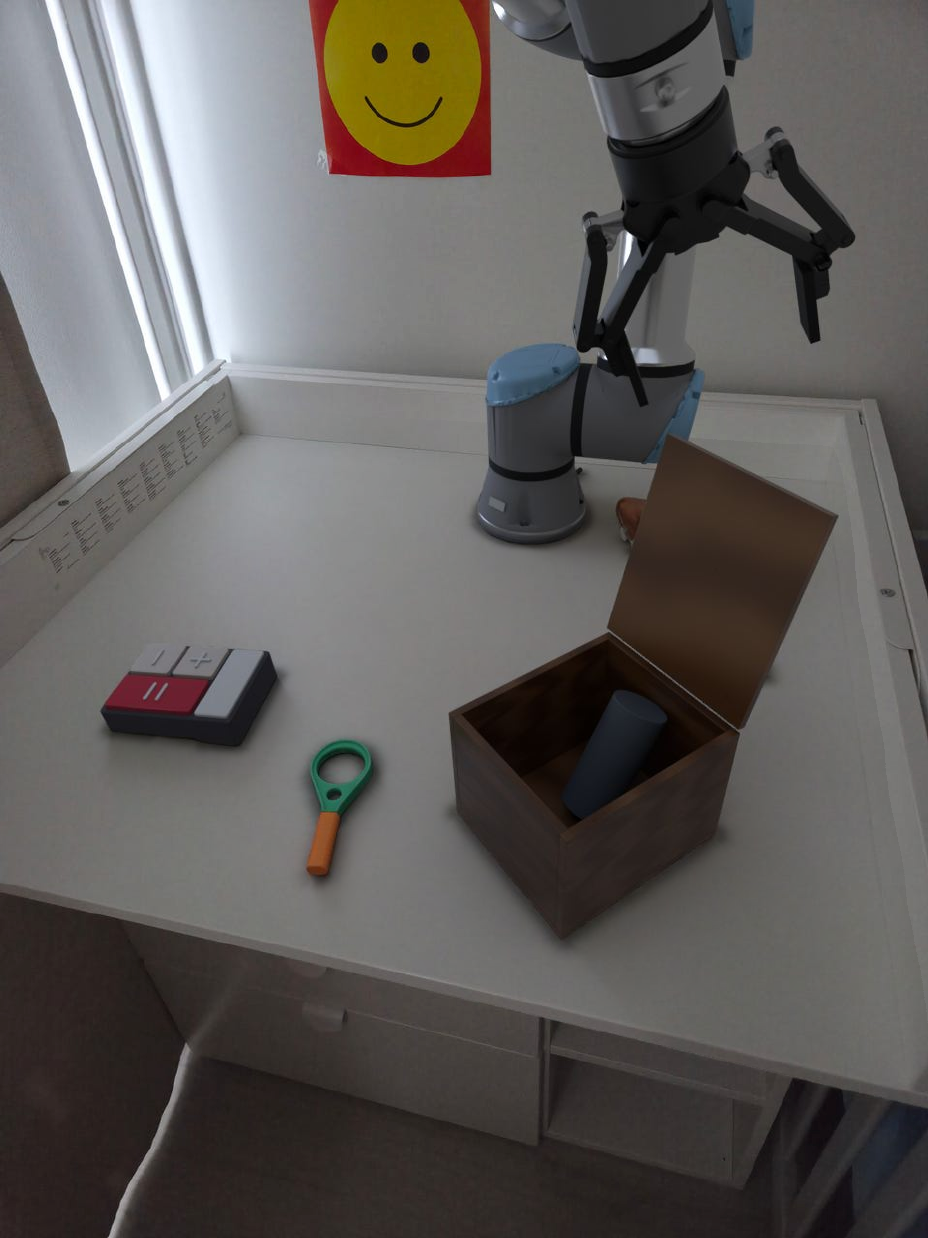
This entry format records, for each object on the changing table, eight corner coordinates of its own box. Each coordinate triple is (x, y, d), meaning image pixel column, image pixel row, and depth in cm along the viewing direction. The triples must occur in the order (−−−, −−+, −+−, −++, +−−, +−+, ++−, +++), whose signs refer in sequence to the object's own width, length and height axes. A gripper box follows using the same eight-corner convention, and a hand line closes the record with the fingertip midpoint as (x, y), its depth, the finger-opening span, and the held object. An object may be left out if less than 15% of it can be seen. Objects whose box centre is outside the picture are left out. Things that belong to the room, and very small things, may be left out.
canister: (586, 787, 76) (638, 689, 73) (622, 822, 73) (678, 722, 69) (550, 791, 73) (602, 689, 69) (586, 828, 70) (643, 723, 66)
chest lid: (832, 516, 54) (839, 515, 55) (666, 433, 65) (673, 433, 65) (738, 730, 64) (744, 728, 64) (606, 628, 74) (612, 626, 75)
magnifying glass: (319, 746, 83) (316, 735, 82) (377, 747, 83) (375, 735, 82) (284, 876, 71) (281, 865, 70) (352, 878, 71) (349, 867, 70)
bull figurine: (706, 576, 102) (716, 521, 97) (608, 547, 108) (612, 494, 103) (718, 558, 105) (728, 504, 100) (621, 531, 111) (626, 479, 106)
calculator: (146, 638, 92) (269, 645, 89) (159, 666, 95) (278, 674, 92) (94, 706, 84) (227, 717, 81) (110, 735, 87) (239, 746, 83)
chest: (561, 940, 66) (566, 841, 57) (456, 811, 76) (448, 712, 68) (715, 834, 73) (740, 733, 64) (600, 730, 83) (609, 631, 75)
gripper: (481, 230, 51) (583, 449, 68) (906, 30, 44) (905, 333, 60) (474, 170, 56) (571, 390, 72) (859, -22, 48) (870, 273, 64)
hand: (723, 364), depth 66 cm, fingers open, 13 cm apart
